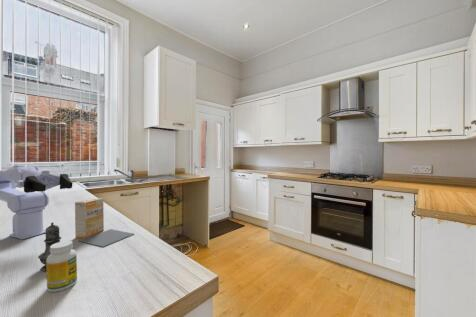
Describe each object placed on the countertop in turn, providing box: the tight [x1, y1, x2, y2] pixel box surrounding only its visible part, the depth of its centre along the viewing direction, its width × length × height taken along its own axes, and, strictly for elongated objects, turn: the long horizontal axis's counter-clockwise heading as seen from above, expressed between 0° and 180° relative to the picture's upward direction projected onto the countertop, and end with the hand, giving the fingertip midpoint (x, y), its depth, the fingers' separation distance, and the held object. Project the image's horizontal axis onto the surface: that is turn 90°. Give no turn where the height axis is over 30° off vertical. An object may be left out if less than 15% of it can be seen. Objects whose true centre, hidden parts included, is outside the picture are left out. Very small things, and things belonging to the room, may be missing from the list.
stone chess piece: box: [37, 222, 62, 273], centre depth 57 cm, size 6×6×12 cm
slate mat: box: [77, 228, 135, 248], centre depth 77 cm, size 13×12×1 cm
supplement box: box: [74, 197, 105, 239], centre depth 81 cm, size 8×5×13 cm, turn 168°
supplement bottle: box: [46, 240, 78, 293], centre depth 49 cm, size 5×5×10 cm
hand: (58, 186), depth 72 cm, fingers open, 7 cm apart
